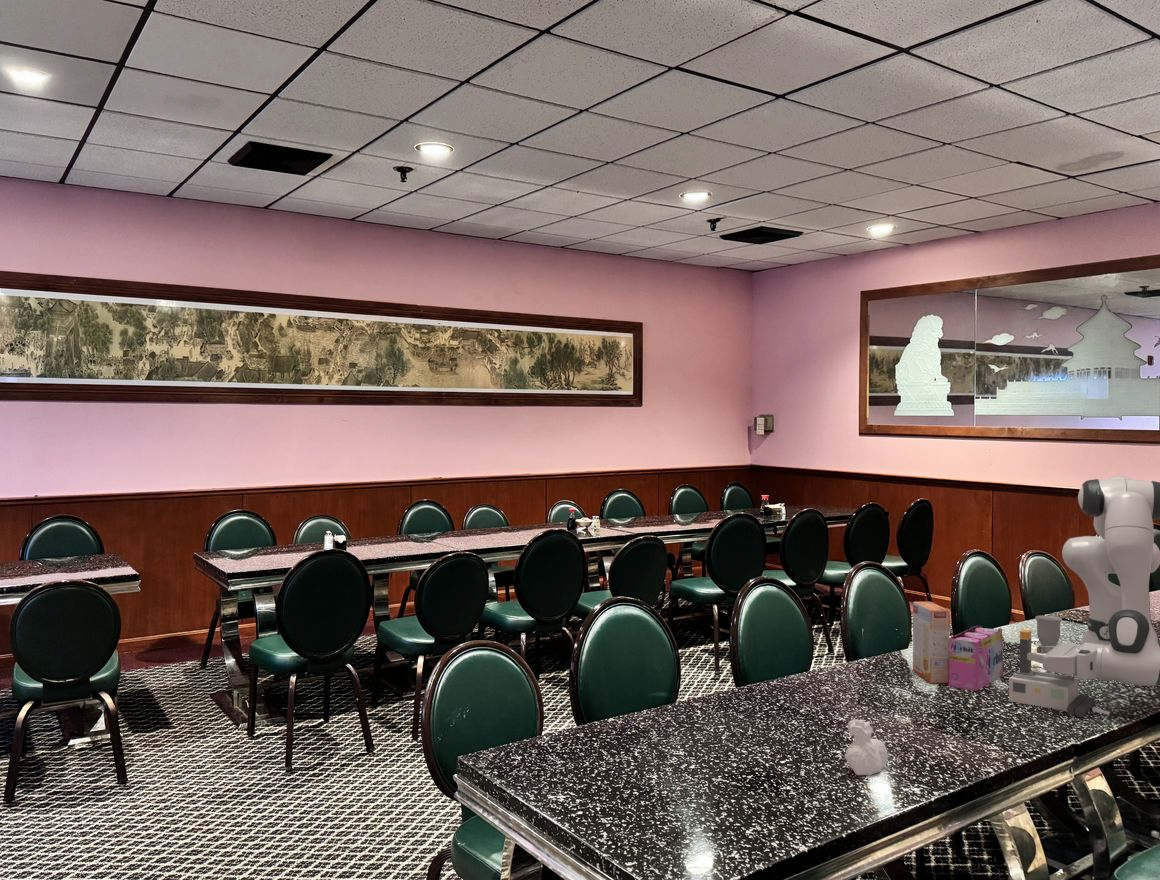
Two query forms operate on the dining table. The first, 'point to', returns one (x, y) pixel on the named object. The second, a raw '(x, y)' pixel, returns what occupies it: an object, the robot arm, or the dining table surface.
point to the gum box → (975, 658)
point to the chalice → (1048, 631)
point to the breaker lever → (1025, 653)
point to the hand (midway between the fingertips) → (1032, 652)
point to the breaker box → (1043, 690)
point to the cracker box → (931, 642)
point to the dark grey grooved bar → (1081, 705)
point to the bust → (865, 750)
